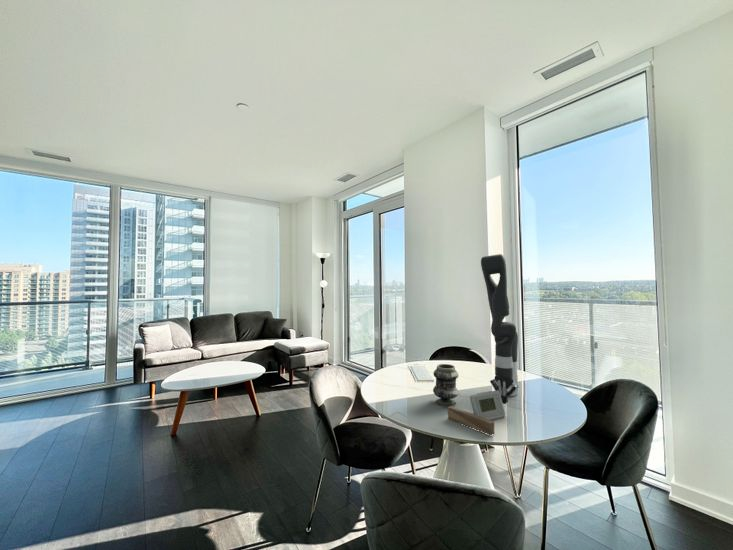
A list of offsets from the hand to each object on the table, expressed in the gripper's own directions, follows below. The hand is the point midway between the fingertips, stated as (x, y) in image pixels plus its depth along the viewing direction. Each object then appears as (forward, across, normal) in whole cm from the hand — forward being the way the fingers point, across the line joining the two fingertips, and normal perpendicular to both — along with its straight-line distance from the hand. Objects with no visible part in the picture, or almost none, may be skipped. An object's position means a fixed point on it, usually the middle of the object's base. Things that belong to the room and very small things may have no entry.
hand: (504, 403), depth 150 cm
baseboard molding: (+4, +63, -12) cm, 64 cm away
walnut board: (+3, 0, +27) cm, 27 cm away
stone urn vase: (+3, +22, +14) cm, 26 cm away
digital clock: (+3, 0, +14) cm, 14 cm away
